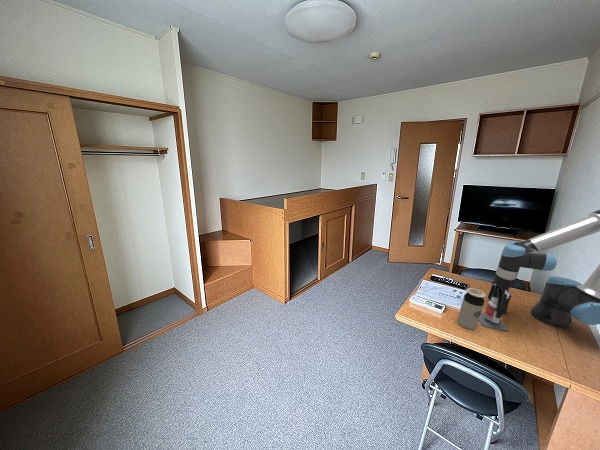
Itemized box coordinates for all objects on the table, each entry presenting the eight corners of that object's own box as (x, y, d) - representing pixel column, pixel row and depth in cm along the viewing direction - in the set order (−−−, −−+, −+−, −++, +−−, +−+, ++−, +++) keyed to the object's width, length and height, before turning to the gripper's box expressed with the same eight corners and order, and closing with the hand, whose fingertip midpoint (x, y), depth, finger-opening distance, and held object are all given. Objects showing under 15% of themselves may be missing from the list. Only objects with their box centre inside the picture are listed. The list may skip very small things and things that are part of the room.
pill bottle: (497, 324, 118) (504, 304, 114) (482, 317, 122) (488, 298, 119) (500, 319, 122) (506, 300, 118) (485, 313, 126) (491, 294, 123)
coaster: (498, 317, 126) (498, 316, 126) (508, 331, 116) (509, 330, 116) (474, 312, 129) (474, 311, 129) (482, 326, 119) (482, 325, 119)
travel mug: (453, 318, 124) (462, 287, 119) (469, 319, 123) (479, 288, 118) (463, 329, 116) (472, 296, 111) (480, 330, 116) (490, 297, 111)
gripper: (487, 266, 125) (476, 305, 131) (505, 284, 107) (491, 328, 114) (505, 269, 123) (492, 308, 129) (526, 288, 105) (510, 332, 112)
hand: (491, 317), depth 122 cm, fingers closed on pill bottle, 6 cm apart
